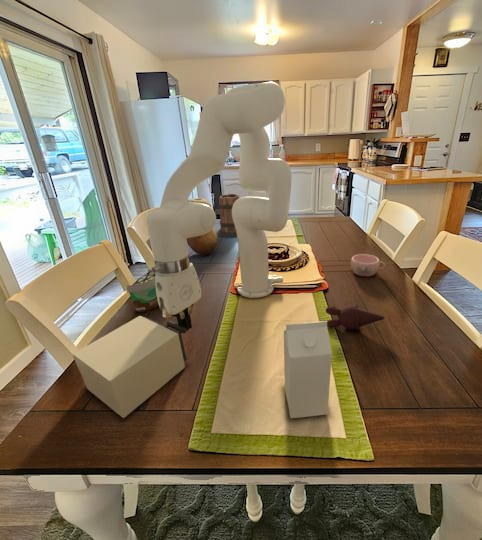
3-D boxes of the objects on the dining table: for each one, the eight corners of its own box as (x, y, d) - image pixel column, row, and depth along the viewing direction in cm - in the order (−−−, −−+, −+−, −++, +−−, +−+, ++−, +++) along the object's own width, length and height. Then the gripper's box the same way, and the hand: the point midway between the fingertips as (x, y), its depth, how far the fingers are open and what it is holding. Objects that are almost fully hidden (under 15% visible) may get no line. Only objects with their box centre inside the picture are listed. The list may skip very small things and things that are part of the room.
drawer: (166, 333, 78) (160, 308, 74) (199, 349, 71) (194, 323, 68) (98, 379, 64) (87, 351, 60) (131, 404, 57) (121, 375, 54)
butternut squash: (224, 251, 134) (219, 197, 123) (205, 261, 123) (196, 203, 113) (202, 246, 140) (195, 194, 130) (182, 256, 130) (172, 200, 120)
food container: (151, 316, 87) (144, 287, 83) (133, 314, 88) (125, 286, 84) (171, 295, 98) (165, 269, 94) (155, 294, 99) (148, 268, 95)
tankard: (213, 236, 154) (208, 199, 145) (222, 227, 168) (219, 192, 160) (255, 237, 149) (253, 198, 140) (262, 228, 164) (260, 192, 155)
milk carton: (284, 388, 60) (283, 313, 52) (318, 385, 61) (321, 309, 53) (290, 419, 54) (289, 338, 46) (327, 415, 54) (333, 334, 46)
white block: (148, 347, 74) (139, 315, 70) (185, 367, 67) (178, 333, 63) (87, 388, 63) (72, 353, 58) (123, 418, 56) (109, 381, 51)
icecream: (382, 300, 78) (325, 300, 81) (387, 309, 71) (324, 309, 74) (382, 325, 79) (326, 324, 83) (387, 335, 72) (325, 334, 75)
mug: (350, 278, 104) (351, 263, 101) (349, 266, 112) (350, 252, 110) (385, 280, 101) (388, 265, 99) (381, 268, 110) (384, 254, 107)
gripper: (156, 280, 59) (172, 349, 67) (207, 255, 70) (216, 317, 78) (134, 272, 63) (152, 339, 71) (186, 250, 74) (196, 309, 82)
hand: (185, 327), depth 74 cm, fingers closed
